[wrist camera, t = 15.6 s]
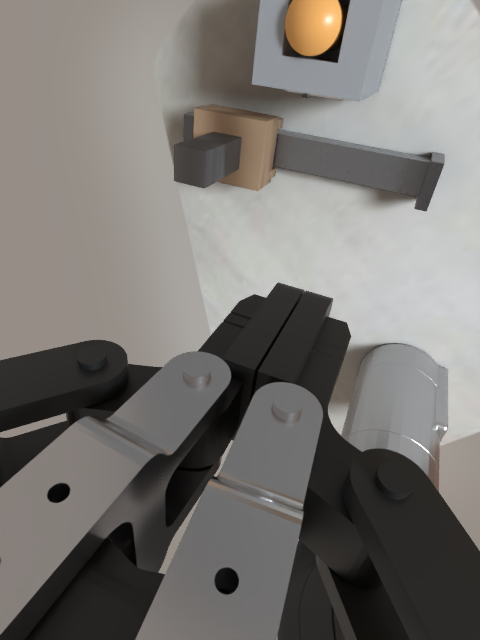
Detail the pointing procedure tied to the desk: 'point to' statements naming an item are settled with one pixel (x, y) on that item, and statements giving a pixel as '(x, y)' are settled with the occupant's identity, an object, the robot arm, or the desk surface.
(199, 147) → the carriage
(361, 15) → the button housing
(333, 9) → the button
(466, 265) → the desk surface
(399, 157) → the rail
